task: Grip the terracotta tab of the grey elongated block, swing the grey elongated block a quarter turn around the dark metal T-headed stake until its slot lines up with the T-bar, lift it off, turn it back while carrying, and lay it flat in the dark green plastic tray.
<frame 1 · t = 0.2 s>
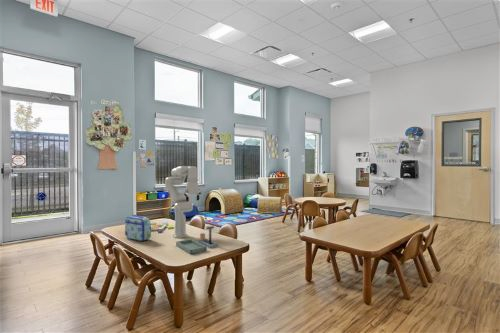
hand: (192, 200, 234), 36 cm above the table, tool pointing down, fingers open, 9 cm apart
tray: (190, 248, 219), on the table
grey elongated block: (207, 244, 229), on the table
lunch box: (137, 239, 244), on the table
pattern blocks set: (156, 229, 281), on the table
stake: (210, 245, 226), on the table
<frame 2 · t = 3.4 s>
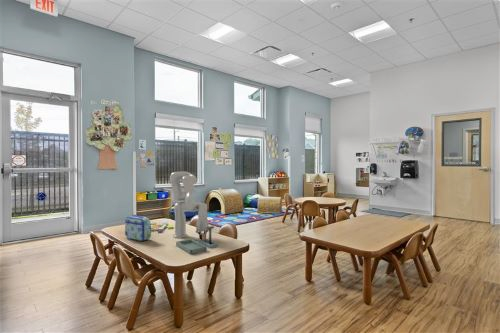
hand: (202, 238, 236), 3 cm above the table, tool pointing down, fingers closed on grey elongated block, 3 cm apart
grey elongated block: (207, 244, 229), on the table, touching gripper
everything else where it was.
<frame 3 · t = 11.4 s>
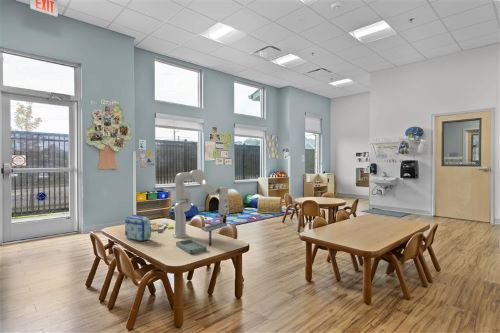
hand: (223, 222, 234), 17 cm above the table, tool pointing down, fingers closed on grey elongated block, 3 cm apart
grey elongated block: (214, 227, 229), point 14 cm above the table, tilted 6°, touching gripper
everything else where it was.
when the fingers open (5 cm above the table, at t = 19.7 s): grey elongated block drops 1 cm, resting on tray.
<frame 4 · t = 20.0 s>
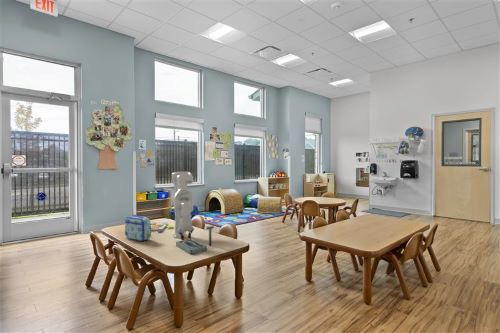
hand: (185, 239, 226), 5 cm above the table, tool pointing down, fingers open, 5 cm apart
grey elongated block: (190, 247, 219), point 1 cm above the table, touching tray
everything else where it was.
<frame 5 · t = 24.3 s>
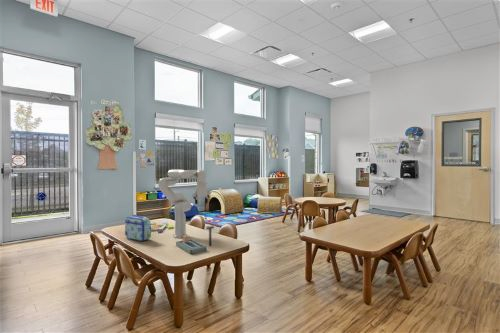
hand: (201, 203, 242), 32 cm above the table, tool pointing down, fingers open, 9 cm apart
nothing on the table moved.
at the end: grey elongated block 0.4 cm off-centre on the tray, point 1.0 cm above the tray's base; grey elongated block tilted 0°; the gripper is holding nothing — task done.
